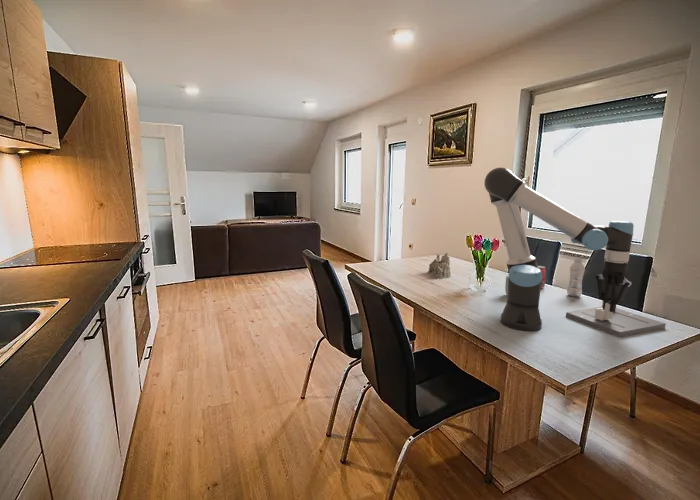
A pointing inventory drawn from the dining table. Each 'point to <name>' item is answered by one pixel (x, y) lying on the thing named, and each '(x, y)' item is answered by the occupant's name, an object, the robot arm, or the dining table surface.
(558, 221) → the robot arm
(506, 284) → the cup
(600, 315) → the white fader
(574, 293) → the plastic bottle
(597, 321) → the fader panel
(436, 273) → the ceramic cottage
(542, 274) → the soda can
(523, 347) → the dining table surface
